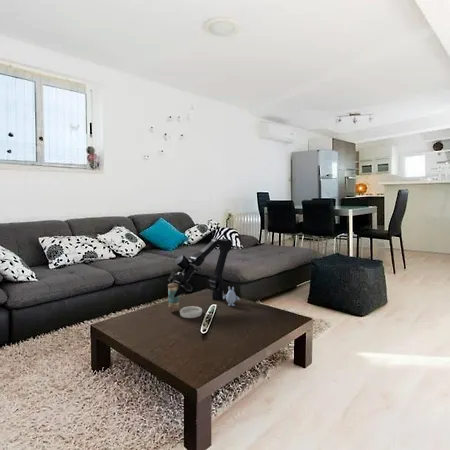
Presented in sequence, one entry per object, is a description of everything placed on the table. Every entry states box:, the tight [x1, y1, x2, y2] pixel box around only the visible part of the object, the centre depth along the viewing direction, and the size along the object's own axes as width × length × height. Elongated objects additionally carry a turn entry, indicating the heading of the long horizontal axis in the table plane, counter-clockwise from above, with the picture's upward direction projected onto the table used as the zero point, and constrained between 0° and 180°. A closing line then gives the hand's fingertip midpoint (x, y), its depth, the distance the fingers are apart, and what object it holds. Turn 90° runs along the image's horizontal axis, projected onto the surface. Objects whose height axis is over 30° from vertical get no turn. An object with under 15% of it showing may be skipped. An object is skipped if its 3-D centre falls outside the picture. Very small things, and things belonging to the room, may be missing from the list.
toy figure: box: [223, 285, 241, 307], centre depth 209 cm, size 11×6×12 cm, turn 72°
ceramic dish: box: [179, 305, 203, 319], centre depth 198 cm, size 12×12×2 cm
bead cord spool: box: [167, 283, 180, 309], centre depth 201 cm, size 6×6×13 cm
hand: (171, 295), depth 200 cm, fingers closed on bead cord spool, 6 cm apart
